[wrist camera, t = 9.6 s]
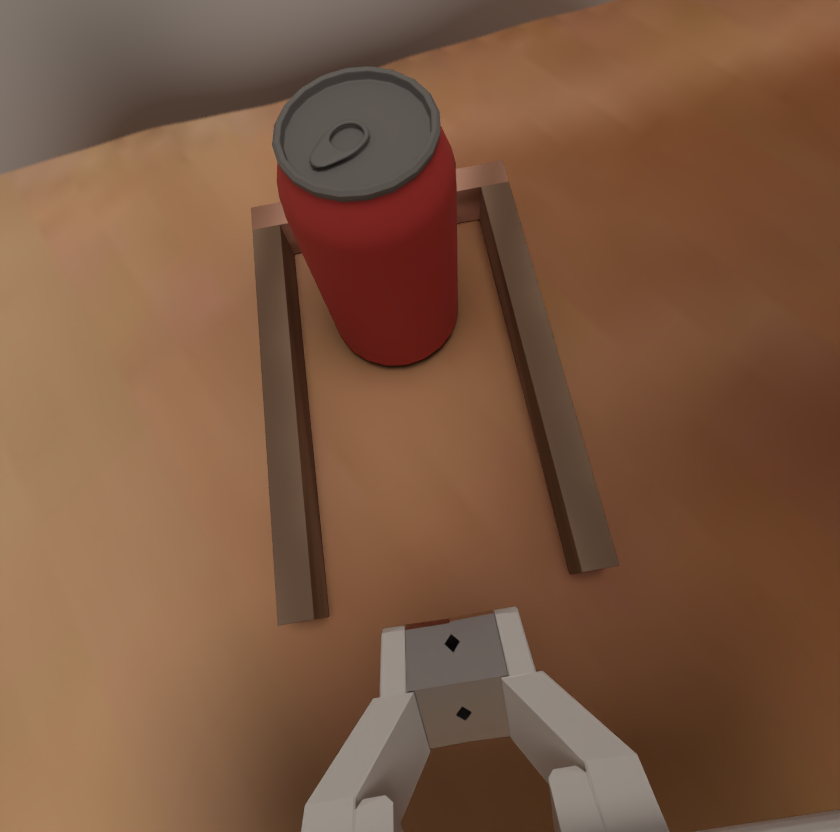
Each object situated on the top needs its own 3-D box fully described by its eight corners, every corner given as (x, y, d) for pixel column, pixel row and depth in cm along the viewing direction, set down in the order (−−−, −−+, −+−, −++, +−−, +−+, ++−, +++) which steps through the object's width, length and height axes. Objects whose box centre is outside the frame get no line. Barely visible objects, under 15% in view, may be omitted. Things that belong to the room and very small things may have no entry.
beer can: (314, 320, 28) (215, 136, 17) (397, 245, 29) (358, 26, 18) (398, 394, 26) (350, 245, 15) (483, 311, 27) (499, 114, 16)
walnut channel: (499, 194, 30) (502, 160, 27) (602, 568, 23) (619, 565, 20) (267, 238, 30) (251, 207, 28) (296, 622, 23) (277, 625, 20)
